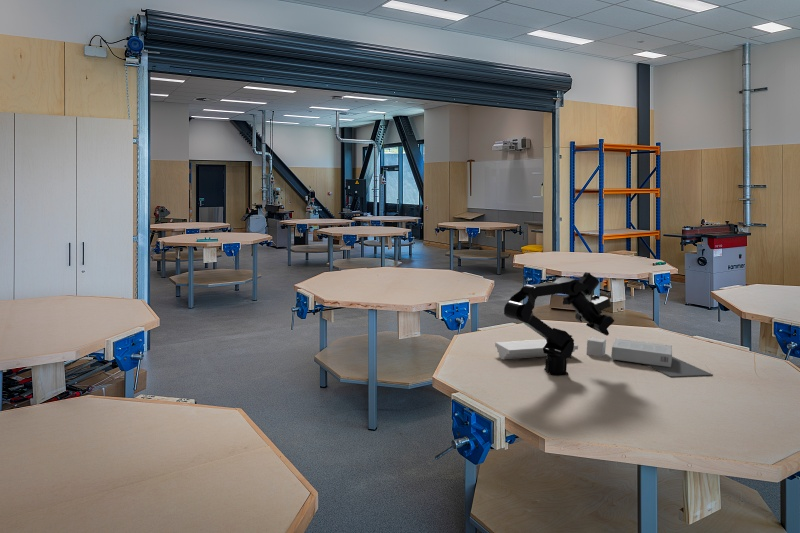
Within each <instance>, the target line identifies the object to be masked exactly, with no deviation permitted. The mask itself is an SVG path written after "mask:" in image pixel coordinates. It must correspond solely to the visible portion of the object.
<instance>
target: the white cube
mask: <svg viewBox="0 0 800 533" xmlns="http://www.w3.org/2000/svg"><path fill="white" fill-rule="evenodd" d="M606 348H607V339H606V338H601V337H600V338H599V337H593V336H591V337H589V338H588V339H587V341H586V354H585V355H589V356H594V357H600V358H602V357H604V355H605V354H606Z"/></svg>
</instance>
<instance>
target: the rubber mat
mask: <svg viewBox="0 0 800 533" xmlns="http://www.w3.org/2000/svg"><path fill="white" fill-rule="evenodd" d="M644 366H647V367H649V368H651V369H652V370H655V371H657V372H660V373H661V374H663V375H665V376H668V377H669V378H686V377H687V378H688V377H689V378H690V377H710V376H711V377H712V376H714V374H713V373H711V372H709V371H706V370H704V369H701V368H700V367H697V366H695V365H692V364H690V363H687V362H686V361H684V360H681V359H679V358H677V357H674V356H672V363H671V367H665V366H657V365H650V364H644Z"/></svg>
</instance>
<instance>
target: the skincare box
mask: <svg viewBox="0 0 800 533" xmlns="http://www.w3.org/2000/svg"><path fill="white" fill-rule="evenodd" d="M672 347H673V345H670V344H663V343H655V342H646V341H638V340H631V339H624V338H614V341H613V344H612V346H611V353H610V354H611V355H610V359H611V360H615V361H616V360H617V361H622V362H629V363H636V364H643V365H645V364H650V365H657V366H665V367H671V363H672V357H673V349H672Z"/></svg>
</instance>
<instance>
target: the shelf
mask: <svg viewBox="0 0 800 533" xmlns="http://www.w3.org/2000/svg"><path fill="white" fill-rule="evenodd" d="M546 343H547V341H546V339H545V338H544V339H543V338H542V339H541V338H540V339H528V340H513V341H494V344H495V345H494V346H495V348H496V349H497V353H498V356H499V359H501V360H502V361H503V360H516V359H517V360H518V359H528V358H530V359H531V358H543V357H546V358H547V354H545V353H544V351H543V347H544V346H545V345H546ZM578 349H579V345H578V344H576V343H574V348H573V351H572V354H573V353H575V350H578ZM555 351H558V352H561V351H559V350H556V349H555Z"/></svg>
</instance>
